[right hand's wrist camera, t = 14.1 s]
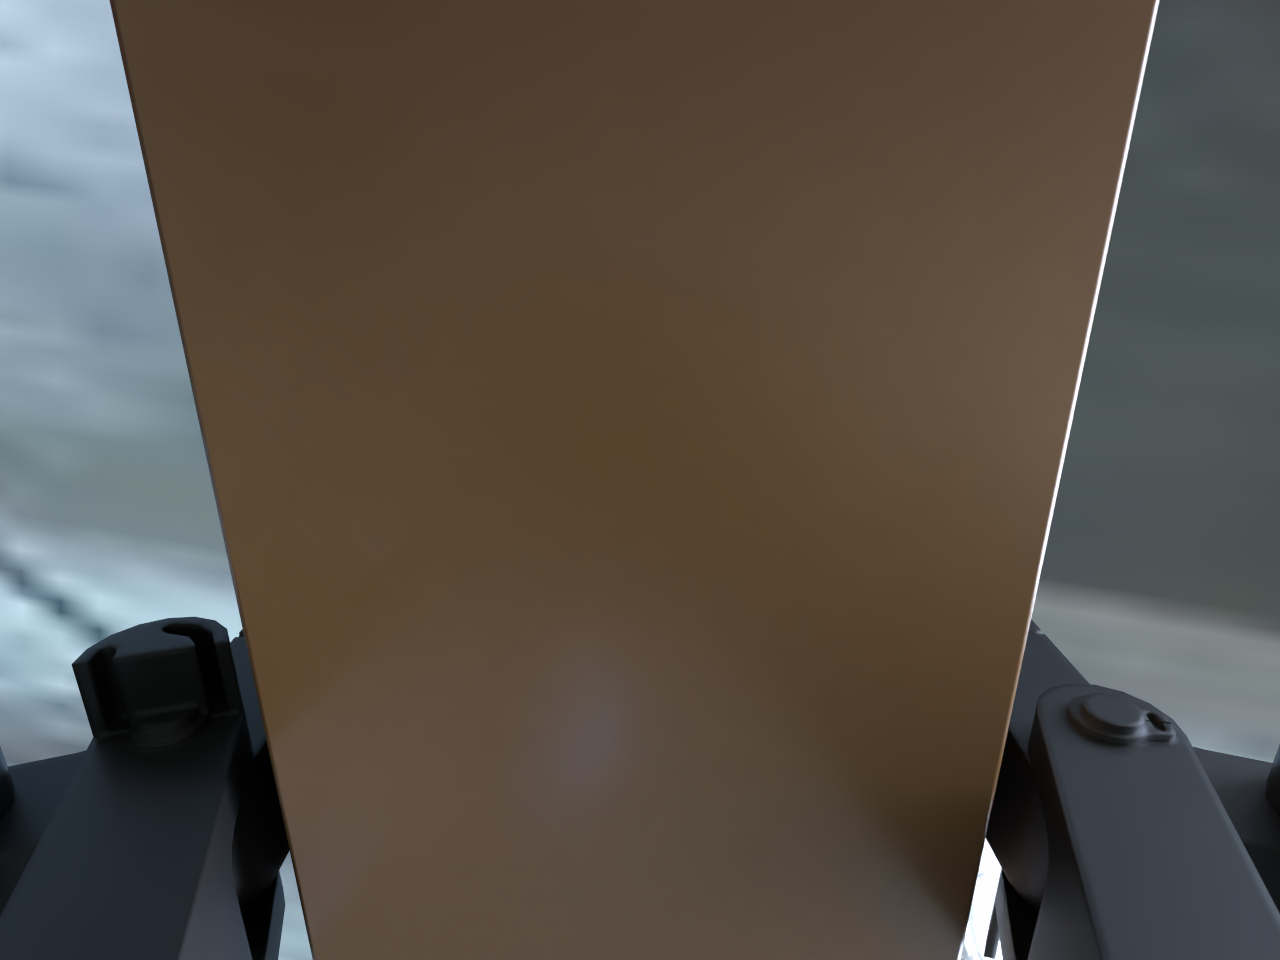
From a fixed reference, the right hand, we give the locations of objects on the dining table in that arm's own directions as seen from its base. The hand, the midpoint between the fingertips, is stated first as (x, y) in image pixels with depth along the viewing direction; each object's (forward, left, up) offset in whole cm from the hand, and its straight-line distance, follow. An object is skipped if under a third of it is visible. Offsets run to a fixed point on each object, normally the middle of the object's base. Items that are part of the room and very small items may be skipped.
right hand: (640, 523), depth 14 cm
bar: (+7, +4, -1) cm, 8 cm away
